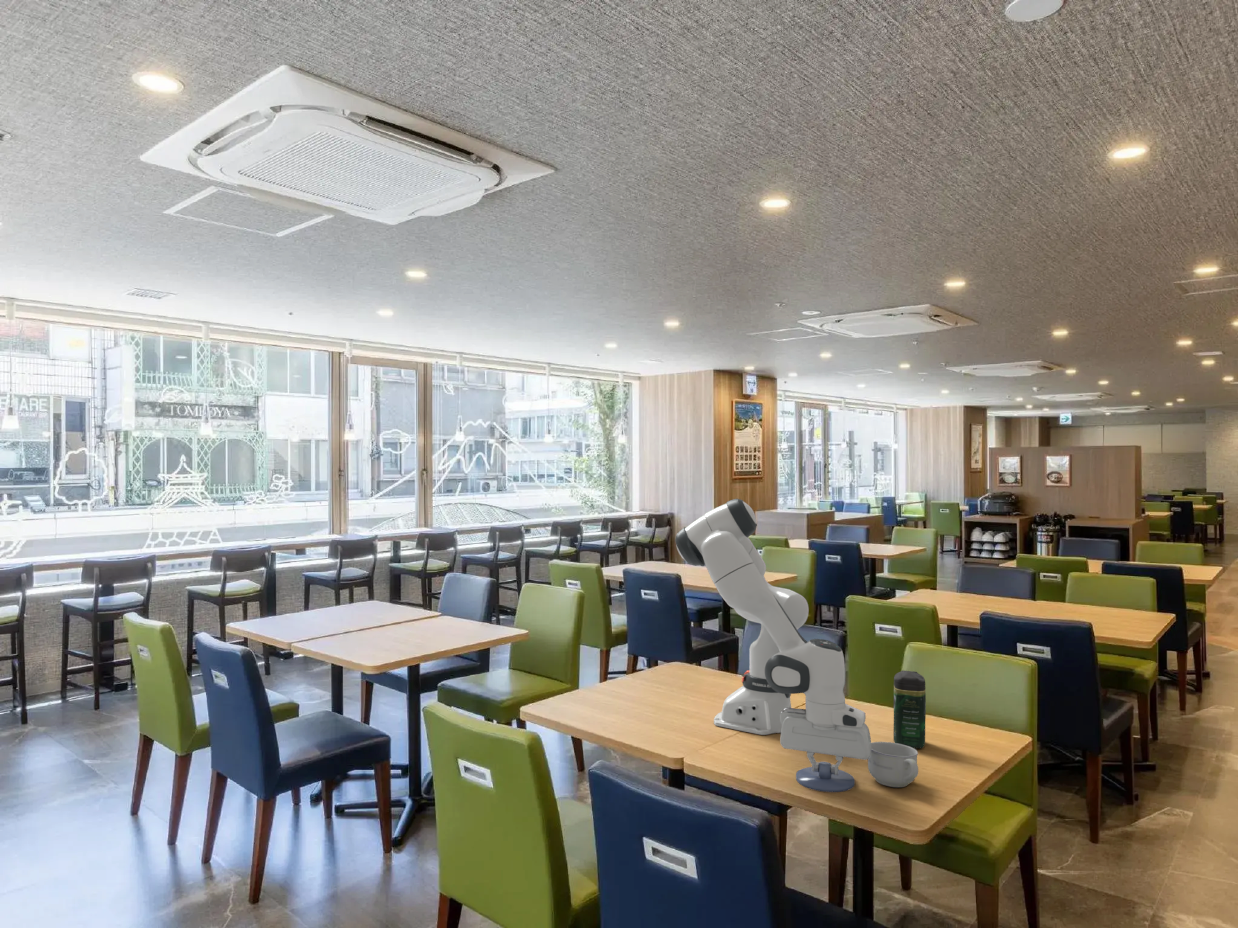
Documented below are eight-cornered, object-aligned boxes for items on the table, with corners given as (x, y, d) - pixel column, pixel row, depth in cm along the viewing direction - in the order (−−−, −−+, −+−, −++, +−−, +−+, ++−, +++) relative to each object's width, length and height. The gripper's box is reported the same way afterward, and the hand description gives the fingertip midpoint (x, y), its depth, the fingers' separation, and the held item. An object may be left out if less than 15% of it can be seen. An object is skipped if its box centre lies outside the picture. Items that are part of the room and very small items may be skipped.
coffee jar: (926, 751, 202) (926, 678, 202) (893, 748, 204) (893, 675, 205) (924, 739, 211) (924, 669, 211) (893, 736, 214) (893, 667, 214)
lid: (790, 786, 179) (790, 768, 179) (801, 767, 191) (801, 750, 191) (850, 796, 174) (850, 777, 174) (858, 775, 186) (858, 758, 186)
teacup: (860, 774, 186) (860, 740, 186) (905, 773, 187) (905, 738, 187) (885, 798, 172) (885, 761, 173) (933, 796, 173) (933, 759, 173)
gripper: (777, 709, 184) (776, 769, 184) (869, 721, 176) (869, 784, 175) (782, 702, 190) (782, 761, 189) (872, 713, 181) (872, 774, 181)
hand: (825, 772), depth 182 cm, fingers closed on lid, 3 cm apart
